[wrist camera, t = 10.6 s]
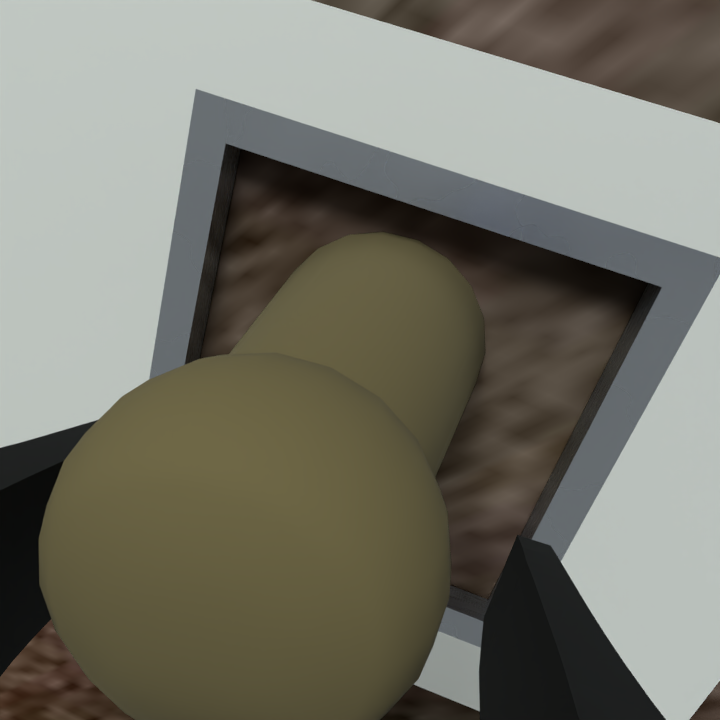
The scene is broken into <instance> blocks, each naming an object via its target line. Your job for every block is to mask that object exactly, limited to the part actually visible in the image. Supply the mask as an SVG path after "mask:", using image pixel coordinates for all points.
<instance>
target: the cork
mask: <svg viewBox="0 0 720 720" xmlns="http://www.w3.org/2000/svg"><path fill="white" fill-rule="evenodd" d="M484 355H485V331H484V317H483V315H482V312H481V309H480V307H479V304H478V302H477V299H476V297H475V294H474V292H473V289H472V287H471V285H470V284H469V283H468V282H467V280H466V279H465V278H464V277H463V276H462V275H461V273H460V272H459V271H458V270H457V269H456V267H455V266H454V265H453V264H452V263H451V261H450V260H449V259H448V258H446V257H444V256H443V255H441V254H440V253H438V252H436V251H435V250H433V249H431V248H430V247H428V246H427V245H425V244H423V243H422V242H420V241H418V240H416V239H411V238H407V237H403V236H399V235H394V234H390V233H386V232H375V233H364V234H353V235H347V236H345V237H343V238H340V239H338V240H336V241H334V242H332V243H329V244H327V245H325V246H323V247H320V248H318V249H317V250H316V251H315V252H314V253H313V254H312V255H311V256H310V257H308V258H307V259H306V260H305V261H304V262H303V263H302V264H301V265H300V266H299V267H298V268H297V269H296V270H295V271H294V272H293V273H292V275H291V276H290V277H289V278H288V280H287V281H286V282H285V283H284V285H283V286H282V287H281V289H280V290H279V291H278V292H277V294H276V295H275V296H274V297H273V299H272V300H271V301H270V303H269V304H268V305H267V306H266V308H265V309H264V310H263V312H262V313H261V314H260V315H259V317H258V318H257V319H256V320H255V322H254V323H253V324H252V326H251V327H250V328H249V329H248V331H247V332H246V333H245V334H244V336H243V337H242V338H241V340H240V341H239V342H238V343H237V345H236V346H235V347H234V349H233V350H232V351H231V352H230V354H228V355H219V356H213V357H207V358H202V359H198V360H195V361H193V362H190V363H188V364H186V365H183V366H181V367H178V368H176V369H173V370H171V371H168V372H166V373H164V374H161V375H159V376H156V377H154V378H151V379H149V380H147V381H146V382H144V383H143V384H141V385H139V386H138V387H136V388H135V389H133V390H131V391H130V392H128V393H127V394H125V395H123V396H122V397H121V398H120V399H119V400H118V401H117V402H116V403H115V404H114V405H113V406H112V407H111V408H110V409H109V410H108V411H107V412H106V413H105V414H104V415H103V416H102V417H101V418H100V419H99V420H98V421H97V422H96V423H95V424H94V425H93V426H92V427H91V428H90V429H89V430H88V431H87V432H86V433H85V434H84V435H83V436H82V438H81V439H80V440H79V442H78V443H77V444H76V446H75V447H74V448H73V450H72V451H71V452H70V454H69V455H68V456H67V457H66V459H65V460H64V462H63V465H62V467H61V470H60V472H59V475H58V477H57V480H56V483H55V485H54V488H53V490H52V493H51V495H50V498H49V501H48V503H47V506H46V510H45V514H44V518H43V523H42V527H41V531H40V535H39V585H40V588H41V591H42V594H43V596H44V599H45V602H46V605H47V608H48V611H49V613H50V616H51V619H52V622H53V625H54V628H55V631H56V632H57V633H58V635H59V636H60V638H61V639H62V641H63V642H64V644H65V645H66V647H67V648H68V650H69V651H70V653H71V654H72V656H73V657H74V658H75V660H76V661H77V663H78V664H79V666H80V667H81V669H82V670H83V672H84V673H85V674H86V676H87V677H88V678H89V680H90V681H91V682H92V683H93V684H94V685H95V686H97V687H98V688H99V689H100V690H101V691H102V692H103V693H104V694H105V695H106V696H107V697H108V698H109V699H110V700H111V701H113V702H114V703H115V704H116V705H117V706H118V707H119V708H120V709H121V710H122V711H123V712H124V713H126V714H127V715H129V716H131V717H132V718H134V719H135V720H380V719H381V718H382V717H384V716H385V715H386V714H387V713H388V712H389V710H390V709H391V708H392V707H393V706H394V705H395V704H396V703H397V702H398V701H399V700H400V699H401V697H402V696H403V695H404V694H405V693H406V692H407V691H408V690H409V689H410V688H411V687H412V685H413V684H414V683H415V682H416V681H417V680H418V679H419V677H420V675H421V672H422V670H423V668H424V666H425V663H426V661H427V659H428V657H429V654H430V652H431V650H432V648H433V645H434V642H435V639H436V636H437V633H438V630H439V627H440V624H441V621H442V618H443V615H444V612H445V609H446V606H447V603H448V600H449V596H450V579H451V554H450V540H449V526H448V512H447V509H446V506H445V503H444V500H443V497H442V494H441V491H440V488H439V486H438V483H437V481H436V479H435V477H436V475H437V472H438V470H439V468H440V465H441V463H442V461H443V458H444V456H445V454H446V451H447V449H448V447H449V444H450V442H451V440H452V437H453V435H454V433H455V430H456V428H457V426H458V423H459V421H460V419H461V416H462V414H463V412H464V409H465V407H466V405H467V402H468V400H469V398H470V395H471V393H472V391H473V389H474V386H475V384H476V381H477V378H478V375H479V371H480V368H481V365H482V361H483V358H484Z"/></svg>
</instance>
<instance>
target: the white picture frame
mask: <svg viewBox="0 0 720 720" xmlns="http://www.w3.org/2000/svg"><path fill="white" fill-rule="evenodd" d="M241 149H244V150H247V151H250V152H253V153H256V154H259V155H262V156H265V157H268V158H271V159H274V160H277V161H280V162H283V163H287V164H290V165H293V166H296V167H299V168H302V169H305V170H308V171H311V172H314V173H317V174H320V175H323V176H326V177H329V178H332V179H335V180H338V181H341V182H344V183H347V184H350V185H353V186H356V187H359V188H362V189H365V190H368V191H372V192H375V193H378V194H381V195H384V196H387V197H390V198H393V199H396V200H399V201H402V202H405V203H408V204H411V205H414V206H417V207H420V208H423V209H426V210H429V211H432V212H435V213H438V214H441V215H444V216H447V217H450V218H453V219H457V220H460V221H463V222H466V223H469V224H472V225H475V226H478V227H481V228H484V229H487V230H490V231H493V232H496V233H499V234H502V235H505V236H508V237H511V238H514V239H517V240H520V241H523V242H526V243H529V244H532V245H535V246H538V247H542V248H545V249H548V250H551V251H554V252H557V253H560V254H563V255H566V256H569V257H572V258H575V259H578V260H581V261H584V262H587V263H590V264H593V265H596V266H599V267H602V268H605V269H608V270H611V271H614V272H617V273H620V274H624V275H627V276H630V277H633V278H636V279H639V280H642V281H645V282H648V285H647V287H646V289H645V291H644V293H643V295H642V297H641V299H640V301H639V302H638V304H637V306H636V308H635V310H634V312H633V314H632V316H631V318H630V320H629V322H628V324H627V326H626V328H625V330H624V332H623V334H622V336H621V338H620V340H619V342H618V344H617V346H616V348H615V350H614V352H613V354H612V356H611V358H610V360H609V362H608V364H607V366H606V368H605V370H604V372H603V374H602V376H601V378H600V380H599V382H598V383H597V385H596V387H595V389H594V391H593V393H592V395H591V397H590V399H589V401H588V403H587V405H586V407H585V409H584V411H583V413H582V415H581V417H580V419H579V421H578V423H577V425H576V427H575V429H574V431H573V433H572V435H571V437H570V439H569V441H568V443H567V445H566V447H565V449H564V451H563V453H562V455H561V457H560V459H559V461H558V463H557V464H556V466H555V468H554V470H553V472H552V474H551V476H550V478H549V480H548V482H547V484H546V486H545V488H544V490H543V492H542V494H541V496H540V498H539V500H538V502H537V504H536V506H535V508H534V510H533V512H532V514H531V516H530V518H529V520H528V522H527V524H526V526H525V528H524V530H523V532H522V534H521V536H522V537H526V538H529V539H532V540H535V541H538V542H541V543H544V544H548V545H551V547H552V548H553V550H554V551H555V553H556V555H557V556H558V558H559V560H560V561H561V563H562V565H563V566H564V568H565V570H566V571H567V573H568V575H569V576H570V578H571V580H572V581H573V583H574V585H575V586H576V588H577V590H578V591H579V593H580V595H581V596H582V598H583V600H584V601H585V603H586V605H587V606H588V608H589V609H590V611H591V613H592V614H593V616H594V617H595V619H596V621H597V622H598V624H599V625H600V627H601V628H602V630H603V632H604V633H605V635H606V636H607V638H608V639H609V641H610V642H611V644H612V645H613V647H614V648H615V650H616V651H617V653H618V654H619V656H620V657H621V659H622V660H623V662H624V663H625V664H626V666H627V667H628V669H629V670H630V671H631V673H632V674H633V676H634V677H635V678H636V680H637V681H638V683H639V684H640V685H641V687H642V688H643V690H644V691H645V692H646V694H647V695H648V697H649V698H650V699H651V701H652V702H653V703H654V705H655V706H656V707H657V709H658V710H659V711H660V712H661V714H662V715H663V716H664V718H665V719H666V720H689V719H690V718H691V717H692V715H693V714H694V713H695V712H696V710H697V709H698V708H699V706H700V705H701V704H702V703H703V701H704V700H705V699H706V697H707V696H708V695H709V694H710V692H711V691H712V690H713V688H714V687H715V686H716V685H717V683H718V682H719V681H720V123H717V122H713V121H710V120H707V119H703V118H700V117H697V116H694V115H690V114H687V113H684V112H680V111H677V110H674V109H670V108H667V107H664V106H660V105H657V104H654V103H650V102H647V101H644V100H640V99H637V98H634V97H630V96H627V95H624V94H620V93H617V92H614V91H610V90H607V89H604V88H601V87H597V86H594V85H591V84H587V83H584V82H581V81H577V80H574V79H571V78H567V77H564V76H561V75H557V74H554V73H551V72H547V71H544V70H541V69H537V68H534V67H531V66H527V65H524V64H521V63H517V62H514V61H511V60H508V59H504V58H501V57H498V56H494V55H491V54H488V53H484V52H481V51H478V50H474V49H471V48H468V47H464V46H461V45H458V44H454V43H451V42H448V41H444V40H441V39H438V38H434V37H431V36H428V35H424V34H421V33H418V32H415V31H411V30H408V29H405V28H401V27H398V26H395V25H391V24H388V23H385V22H381V21H378V20H375V19H371V18H368V17H365V16H361V15H358V14H355V13H351V12H348V11H345V10H341V9H338V8H335V7H331V6H328V5H325V4H321V3H318V2H315V1H312V0H0V448H1V447H5V446H9V445H13V444H17V443H20V442H24V441H28V440H31V439H34V438H38V437H41V436H45V435H48V434H52V433H55V432H58V431H62V430H65V429H69V428H72V427H75V426H79V425H82V424H85V423H89V422H92V421H96V420H99V419H100V418H101V417H102V416H103V415H104V414H105V413H106V412H107V411H108V410H109V409H110V408H111V407H112V406H113V405H114V404H115V403H116V402H117V401H118V400H119V399H120V398H121V397H122V396H123V395H125V394H127V393H128V392H130V391H131V390H133V389H135V388H136V387H138V386H139V385H141V384H143V383H144V382H146V381H147V380H149V379H151V378H154V377H156V376H159V375H161V374H164V373H166V372H168V371H171V370H173V369H176V368H178V367H181V366H183V365H186V364H188V363H190V362H193V361H195V360H198V359H200V354H201V349H202V344H203V338H204V333H205V328H206V323H207V318H208V313H209V308H210V303H211V298H212V293H213V288H214V282H215V277H216V272H217V267H218V262H219V257H220V252H221V247H222V242H223V237H224V231H225V226H226V221H227V216H228V211H229V206H230V201H231V196H232V191H233V186H234V180H235V175H236V170H237V165H238V160H239V155H240V150H241ZM502 572H503V571H502ZM501 574H502V573H501ZM500 576H501V575H500ZM499 579H500V577H499ZM499 579H498V581H499ZM498 581H497V583H496V585H495V587H494V589H493V591H492V593H491V595H490V597H489V599H488V600H487V599H485V598H482V597H480V596H477V595H474V594H472V593H469V592H467V591H464V590H462V589H459V588H456V587H454V586H451V585H450V596H449V600H448V603H447V606H446V609H445V612H444V615H443V618H442V621H441V624H440V627H439V630H438V633H437V636H436V639H435V642H434V645H433V648H432V650H431V652H430V654H429V657H428V659H427V661H426V663H425V666H424V668H423V670H422V672H421V675H420V677H419V679H418V680H417V681H416V682H415V683H414V685H416V686H419V687H421V688H424V689H426V690H429V691H431V692H433V693H436V694H438V695H441V696H443V697H446V698H448V699H451V700H453V701H456V702H458V703H460V704H463V705H465V706H468V707H470V708H473V709H475V710H478V711H480V699H479V663H480V651H481V640H482V630H483V620H484V615H485V613H486V611H487V608H488V606H489V603H490V601H491V598H492V596H493V594H494V591H495V589H496V586H497V584H498Z"/></svg>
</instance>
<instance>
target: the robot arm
mask: <svg viewBox="0 0 720 720" xmlns="http://www.w3.org/2000/svg"><path fill="white" fill-rule="evenodd" d="M97 421H98V420H96V421H92V422H89V423H85V424H82V425H79V426H75V427H72V428H69V429H65V430H62V431H58V432H55V433H52V434H48V435H45V436H41V437H38V438H34V439H31V440H28V441H24V442H20V443H17V444H13V445H9V446H5V447H1V448H0V676H1V675H2V674H3V672H4V671H5V670H6V669H7V667H8V666H9V665H10V663H11V662H12V661H13V660H14V659H15V658H16V656H17V655H18V654H19V653H20V652H21V651H22V650H23V649H24V647H25V646H26V645H27V644H28V643H29V642H30V641H31V639H32V638H33V637H34V636H35V635H36V634H37V633H38V632H39V631H40V630H41V629H42V628H43V627H44V626H45V625H46V624H47V623H48V622H49V620H50V619H51V616H50V613H49V611H48V608H47V605H46V602H45V599H44V596H43V594H42V591H41V588H40V585H39V535H40V531H41V527H42V523H43V518H44V514H45V510H46V506H47V503H48V501H49V498H50V495H51V493H52V490H53V488H54V485H55V483H56V480H57V477H58V475H59V472H60V470H61V467H62V465H63V462H64V460H65V459H66V457H67V456H68V455H69V454H70V452H71V451H72V450H73V448H74V447H75V446H76V444H77V443H78V442H79V440H80V439H81V438H82V436H83V435H84V434H85V433H86V432H87V431H88V430H89V429H90V428H91V427H92V426H93V425H94V424H95V423H96V422H97ZM479 699H480V720H666V719H665V718H664V716H663V715H662V714H661V712H660V711H659V710H658V709H657V707H656V706H655V705H654V703H653V702H652V701H651V699H650V698H649V697H648V695H647V694H646V692H645V691H644V690H643V688H642V687H641V685H640V684H639V683H638V681H637V680H636V678H635V677H634V676H633V674H632V673H631V671H630V670H629V669H628V667H627V666H626V664H625V663H624V662H623V660H622V659H621V657H620V656H619V654H618V653H617V651H616V650H615V648H614V647H613V645H612V644H611V642H610V641H609V639H608V638H607V636H606V635H605V633H604V632H603V630H602V628H601V627H600V625H599V624H598V622H597V621H596V619H595V617H594V616H593V614H592V613H591V611H590V609H589V608H588V606H587V605H586V603H585V601H584V600H583V598H582V596H581V595H580V593H579V591H578V590H577V588H576V586H575V585H574V583H573V581H572V580H571V578H570V576H569V575H568V573H567V571H566V570H565V568H564V566H563V565H562V563H561V561H560V560H559V558H558V556H557V555H556V553H555V551H554V550H553V548H552V547H551V545H548V544H544V543H541V542H538V541H535V540H532V539H529V538H526V537H522V536H519V535H517V537H516V540H515V542H514V545H513V547H512V550H511V552H510V555H509V557H508V559H507V562H506V564H505V567H504V569H503V572H502V574H501V576H500V579H499V581H498V584H497V586H496V589H495V591H494V594H493V596H492V598H491V601H490V603H489V606H488V608H487V611H486V613H485V615H484V620H483V630H482V640H481V651H480V663H479Z"/></svg>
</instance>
